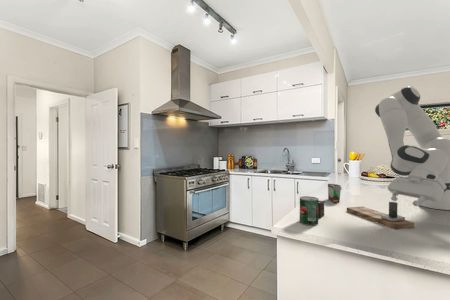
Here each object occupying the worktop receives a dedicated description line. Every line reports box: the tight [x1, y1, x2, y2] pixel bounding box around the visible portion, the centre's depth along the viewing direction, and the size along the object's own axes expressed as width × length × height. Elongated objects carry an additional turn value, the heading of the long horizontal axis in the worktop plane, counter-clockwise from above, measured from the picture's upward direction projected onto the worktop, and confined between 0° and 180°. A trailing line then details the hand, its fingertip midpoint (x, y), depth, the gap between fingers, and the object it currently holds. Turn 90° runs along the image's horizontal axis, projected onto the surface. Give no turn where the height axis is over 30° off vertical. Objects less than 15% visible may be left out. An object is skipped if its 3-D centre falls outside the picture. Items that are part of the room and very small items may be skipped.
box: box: [318, 199, 325, 219], centre depth 108 cm, size 6×6×7 cm
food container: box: [327, 183, 343, 204], centre depth 137 cm, size 12×6×10 cm, turn 171°
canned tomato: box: [299, 195, 320, 227], centre depth 99 cm, size 8×8×11 cm
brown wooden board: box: [346, 205, 415, 230], centre depth 104 cm, size 26×10×2 cm, turn 13°
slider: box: [381, 201, 406, 221], centre depth 96 cm, size 5×7×7 cm
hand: (403, 202), depth 97 cm, fingers open, 8 cm apart
